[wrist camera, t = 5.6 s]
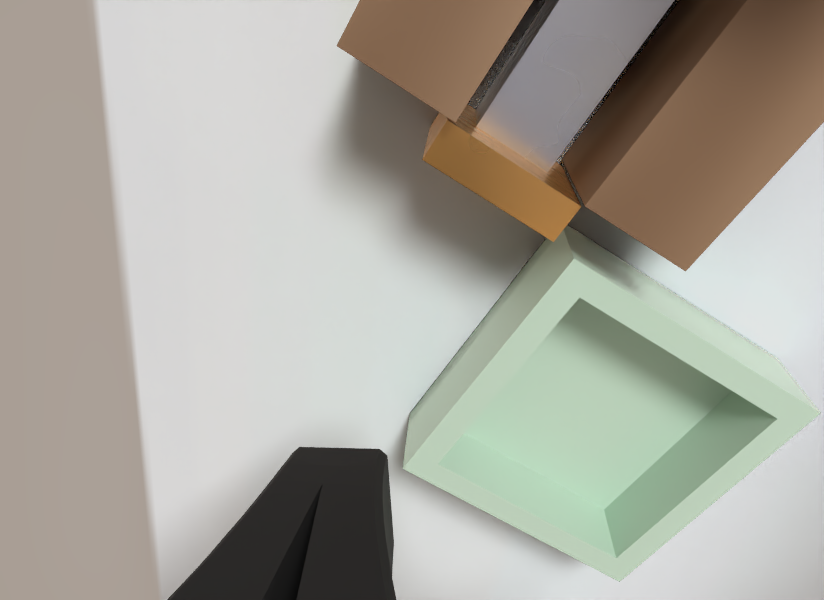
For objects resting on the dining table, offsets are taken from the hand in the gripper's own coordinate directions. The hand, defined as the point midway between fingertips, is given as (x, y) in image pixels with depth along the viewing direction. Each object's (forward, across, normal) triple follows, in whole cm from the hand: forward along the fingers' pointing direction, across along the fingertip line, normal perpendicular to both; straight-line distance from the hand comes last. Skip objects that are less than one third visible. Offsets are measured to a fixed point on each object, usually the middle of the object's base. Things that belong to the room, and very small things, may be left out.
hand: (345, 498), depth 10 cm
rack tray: (+6, -5, +2) cm, 8 cm away
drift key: (+6, -4, -6) cm, 9 cm away
